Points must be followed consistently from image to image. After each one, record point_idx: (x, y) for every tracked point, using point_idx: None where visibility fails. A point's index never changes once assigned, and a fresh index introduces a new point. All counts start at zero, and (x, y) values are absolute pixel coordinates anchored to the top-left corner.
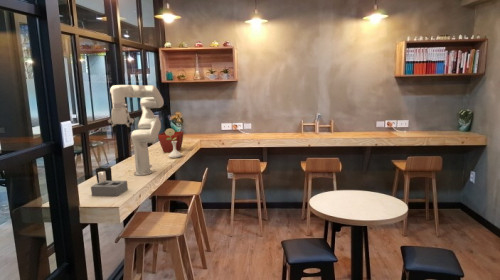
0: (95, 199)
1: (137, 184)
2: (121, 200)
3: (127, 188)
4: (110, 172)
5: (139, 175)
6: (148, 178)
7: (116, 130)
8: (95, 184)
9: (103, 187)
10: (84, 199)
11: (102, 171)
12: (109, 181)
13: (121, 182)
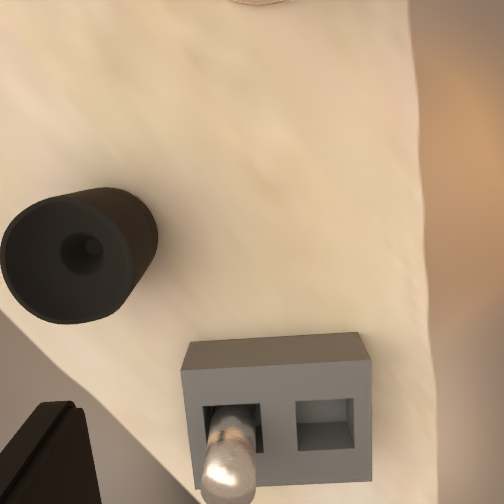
0: (264, 492)
1: (369, 227)
2: (419, 490)
3: (359, 337)
4: (140, 247)
5: (265, 4)
6: (383, 71)
7: (56, 468)
8: (193, 449)
9: (282, 482)
10: (202, 498)
11: (219, 472)
12: (248, 385)
13: (351, 396)
